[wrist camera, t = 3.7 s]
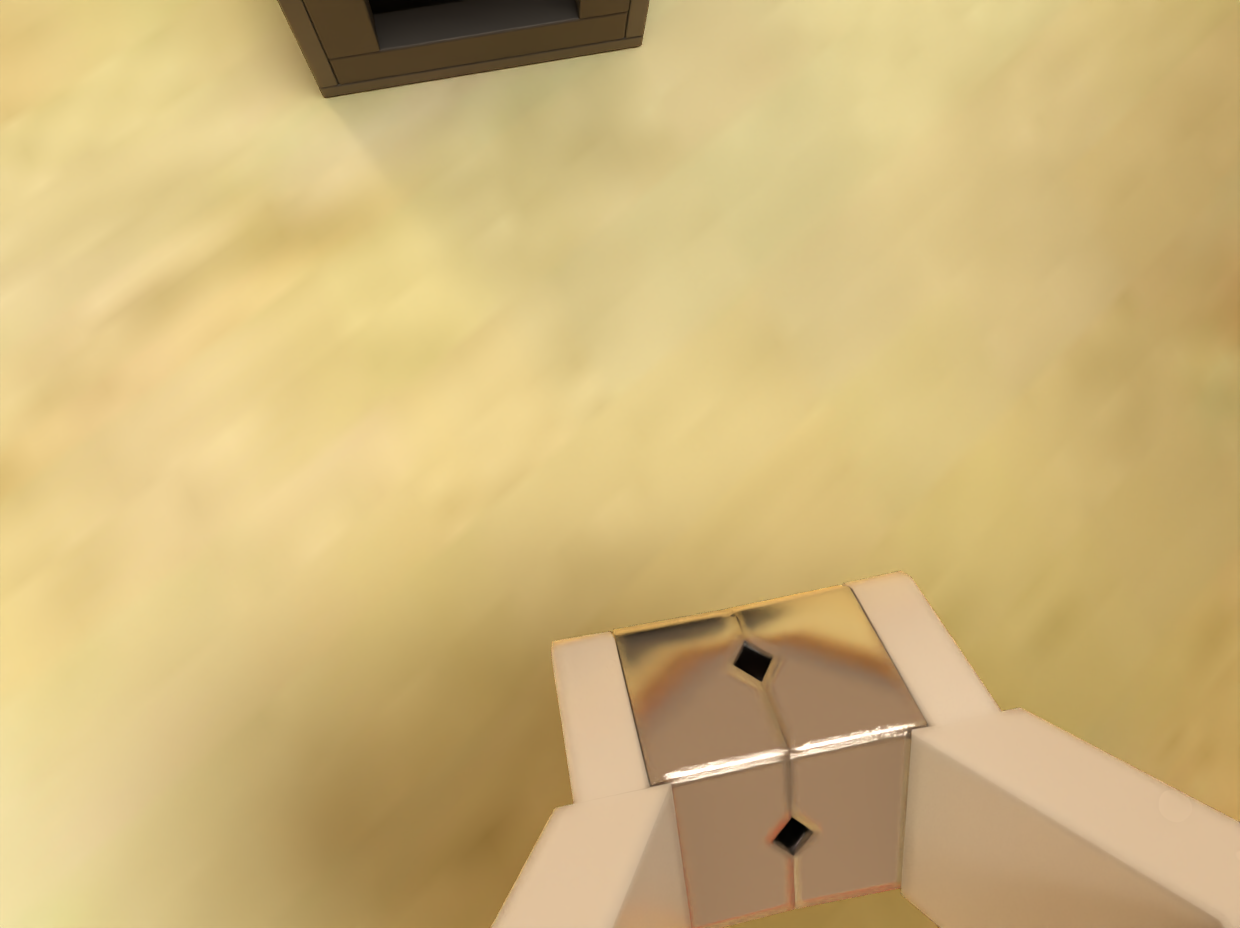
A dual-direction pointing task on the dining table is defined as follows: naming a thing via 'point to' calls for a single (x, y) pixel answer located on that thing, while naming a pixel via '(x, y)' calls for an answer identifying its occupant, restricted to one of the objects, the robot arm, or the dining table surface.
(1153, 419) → the dining table surface
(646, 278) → the dining table surface
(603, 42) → the dark brown matte cube
